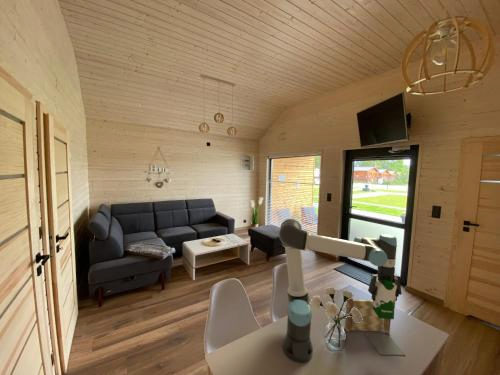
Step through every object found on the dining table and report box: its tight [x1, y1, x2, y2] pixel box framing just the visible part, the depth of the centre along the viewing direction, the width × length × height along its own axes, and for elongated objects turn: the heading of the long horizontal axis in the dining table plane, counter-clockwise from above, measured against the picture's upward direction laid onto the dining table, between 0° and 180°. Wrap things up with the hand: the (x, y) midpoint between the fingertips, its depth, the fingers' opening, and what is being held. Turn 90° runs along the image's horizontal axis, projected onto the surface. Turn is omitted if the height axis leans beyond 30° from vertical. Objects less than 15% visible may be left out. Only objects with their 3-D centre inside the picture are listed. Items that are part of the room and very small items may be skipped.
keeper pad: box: [366, 333, 406, 357], centre depth 115 cm, size 13×13×1 cm
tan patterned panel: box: [344, 296, 392, 334], centre depth 124 cm, size 24×4×20 cm, turn 90°
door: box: [351, 299, 384, 332], centre depth 123 cm, size 18×3×18 cm, turn 90°
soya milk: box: [373, 277, 397, 320], centre depth 112 cm, size 9×9×20 cm
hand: (383, 306), depth 112 cm, fingers closed on soya milk, 9 cm apart
